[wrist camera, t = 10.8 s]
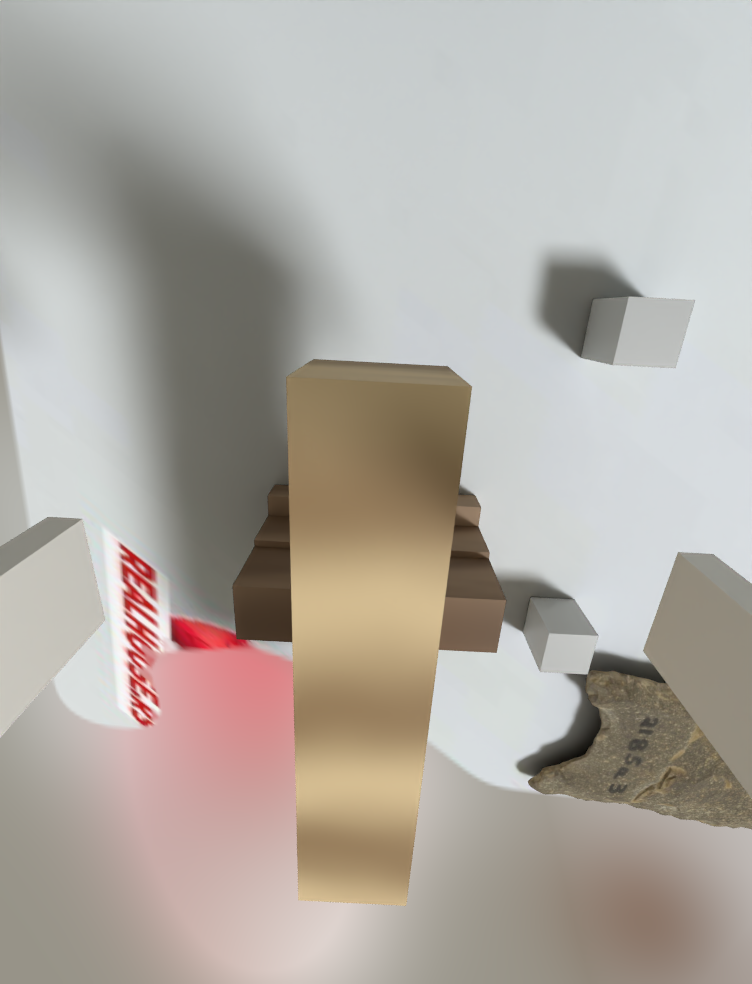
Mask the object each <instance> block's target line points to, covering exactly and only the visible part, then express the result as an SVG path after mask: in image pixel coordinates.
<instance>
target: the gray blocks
mask: <svg viewBox="0 0 752 984" xmlns="http://www.w3.org/2000/svg"><path fill="white" fill-rule="evenodd" d="M694 303H695V300H685V299H666V298H648V297H615V298H600V299H593V302H592V307H591V312H590V316H589V321H588V326H587V331H586V336H585V340H584V345H583V350H582V355H581V358H584V359H588V360H593V361H597V362H601V363H606V364H610V365H621V366H640V367H659V368H676V365H677V362H678V358H679V355H680V351H681V348H682V344H683V341H684V337H685V334H686V330H687V327H688V323H689V320H690V316H691V313H692V309H693V306H694ZM523 634H524V636H525V638H526V641H527V643H528V645H529V648H530V650H531V652H532V655H533V657H534V659H535V661H536V664H537V666H538V668H539V671H540V672H549V673H569V674H588V671H589V668H590V664H591V661H592V657H593V654H594V650H595V647H596V643H597V640H598V634H597V633H596V631H595V630H594V628H593V627H592V625H591V624H590V622H589V621H588V619H587V618H586V616H585V615H584V613H583V612H582V610H581V609H580V607H579V606H578V604H577V603H576V601H575V600H574V599H557V598H538V597H530V602H529V607H528V612H527V616H526V621H525V626H524V631H523Z"/></svg>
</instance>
